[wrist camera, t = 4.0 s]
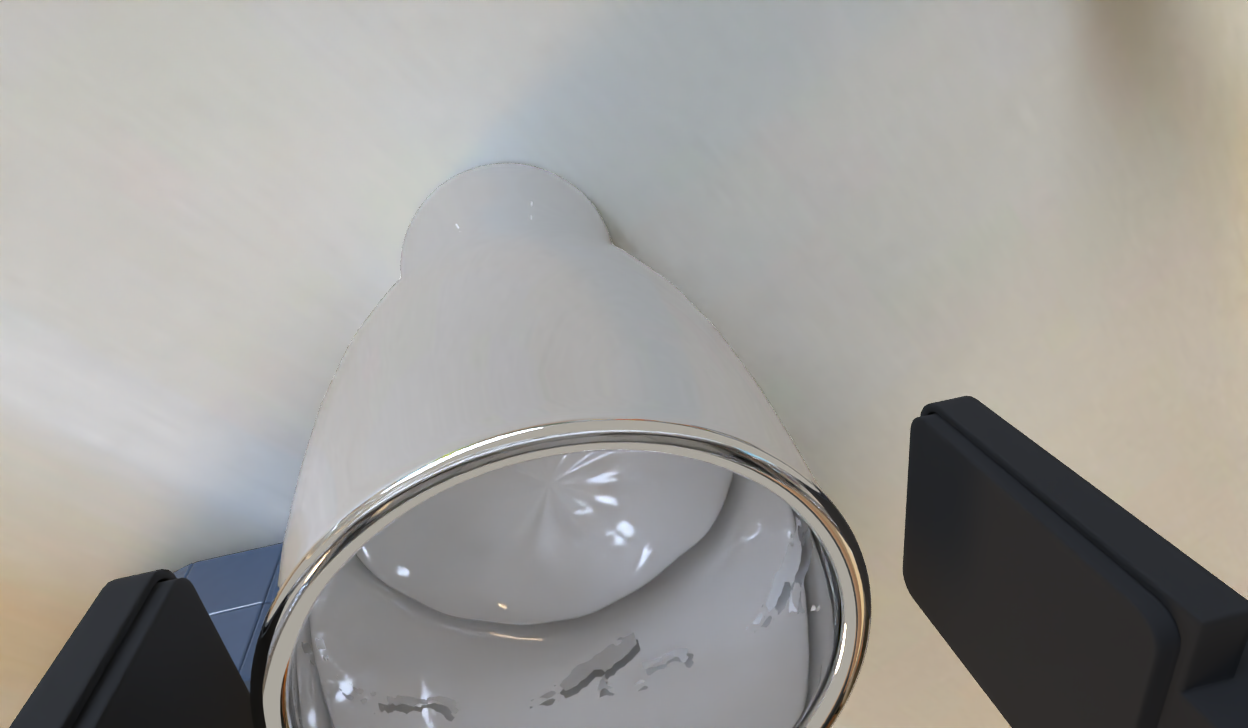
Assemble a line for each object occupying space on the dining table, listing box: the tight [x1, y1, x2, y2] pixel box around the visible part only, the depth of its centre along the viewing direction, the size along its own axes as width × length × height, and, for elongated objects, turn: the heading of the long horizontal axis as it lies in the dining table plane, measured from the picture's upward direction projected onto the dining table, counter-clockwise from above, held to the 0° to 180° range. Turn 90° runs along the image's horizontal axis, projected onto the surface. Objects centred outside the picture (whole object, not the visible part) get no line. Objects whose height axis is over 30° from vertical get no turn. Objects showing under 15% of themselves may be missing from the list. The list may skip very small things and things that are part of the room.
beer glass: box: [250, 163, 871, 728], centre depth 14 cm, size 7×7×15 cm
